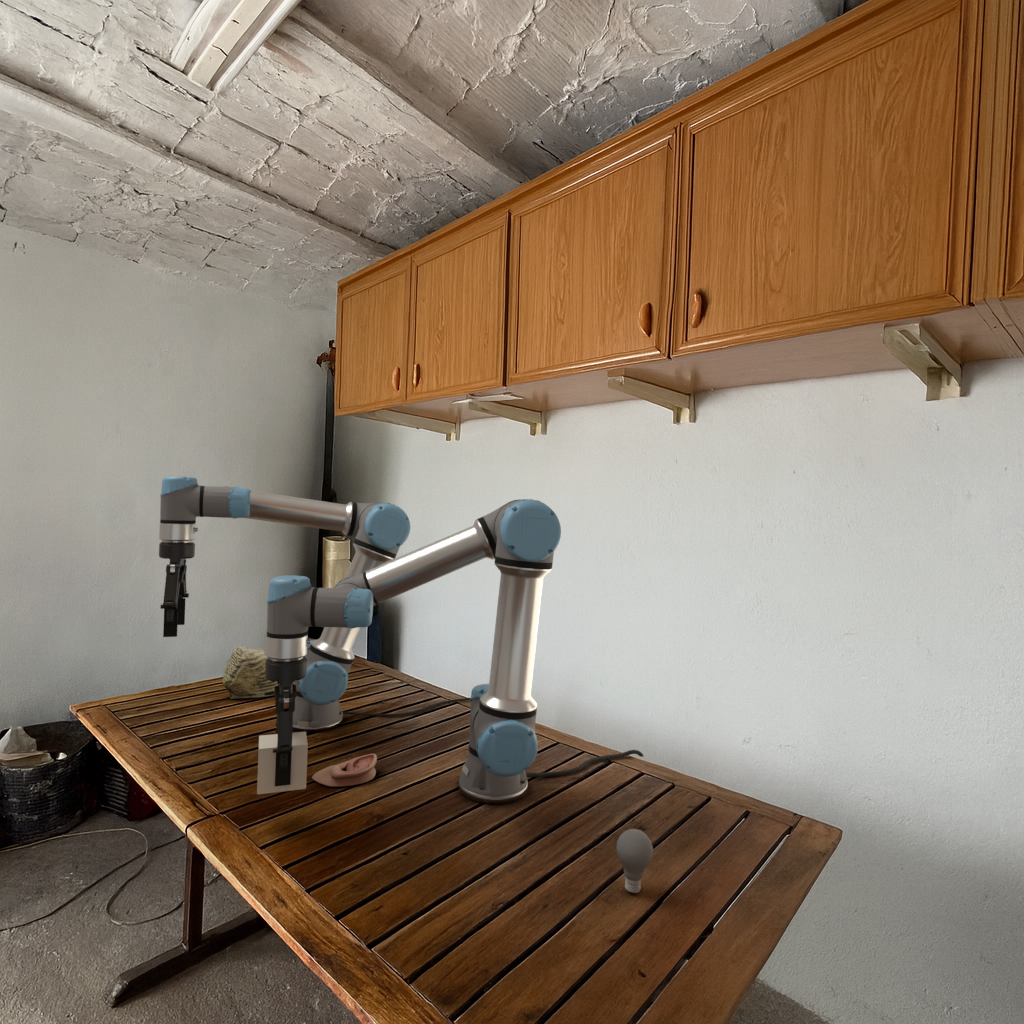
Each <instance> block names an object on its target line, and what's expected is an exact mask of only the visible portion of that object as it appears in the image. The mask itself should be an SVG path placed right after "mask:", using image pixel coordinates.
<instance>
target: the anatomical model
mask: <svg viewBox="0 0 1024 1024" xmlns="http://www.w3.org/2000/svg"><path fill="white" fill-rule="evenodd" d="M377 761H378V756H377V754H376V753H368V754H363V755H360V756H357V757H354V758H351V759H348V760H346V761H343V762H340V763H337V764H332V765H329V766H326V767H324V768H322V769H320V770H318V771H317V772H315V773H314V774H313V775H312V776H311V779H312V780H313V781H315V782H317V783H318V784H321V785H323V786H327V787H333V788H334V787H347V786H356V785H361V784H364V783H367V782H369V781H372V780H373V779H374V778H375V776H376V773H377V770H376V768H375V767H376V764H377Z"/></svg>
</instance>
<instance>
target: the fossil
mask: <svg viewBox="0 0 1024 1024" xmlns="http://www.w3.org/2000/svg"><path fill="white" fill-rule="evenodd" d="M265 654H266V651H265V650H264V649H263V648H260V647H258V648H251V647H247V646H246V647H245V646H238V647H237V648H236V649H235V650H233V651H232V653H231V656H230V657H229V659H228V660H227V663H226V666H225V668H224V671H223V675H222V676H223V677H222V685H223V687H224V688H225V690H226V691H228V693H229V698H230V699H250V698H264V697H271V696H275V695H274V687H275V686H278V684H277V681H275V682H273V681H270V680H268V679H266V677H265V663H266V660H267V658H268V657H267V656H266V655H265Z"/></svg>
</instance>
